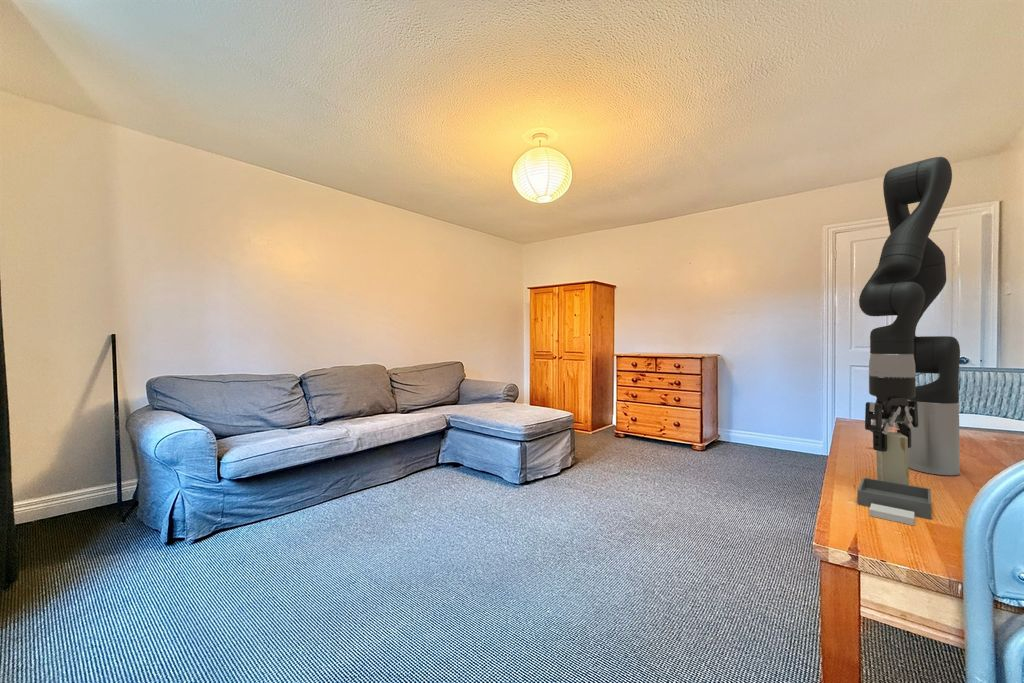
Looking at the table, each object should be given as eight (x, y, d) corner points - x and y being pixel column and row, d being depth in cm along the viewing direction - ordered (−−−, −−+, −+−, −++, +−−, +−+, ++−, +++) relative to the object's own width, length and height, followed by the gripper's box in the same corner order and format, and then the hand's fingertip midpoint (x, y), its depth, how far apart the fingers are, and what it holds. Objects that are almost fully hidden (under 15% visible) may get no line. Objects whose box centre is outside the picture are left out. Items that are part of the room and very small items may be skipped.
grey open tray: (863, 490, 90) (862, 477, 90) (930, 502, 83) (930, 488, 83) (854, 512, 79) (854, 497, 79) (931, 529, 72) (931, 513, 72)
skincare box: (910, 496, 87) (909, 437, 87) (882, 492, 89) (881, 435, 89) (901, 486, 92) (901, 431, 92) (876, 483, 94) (875, 429, 94)
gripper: (890, 372, 96) (891, 442, 96) (851, 374, 91) (851, 447, 91) (932, 375, 89) (933, 450, 89) (892, 376, 84) (893, 456, 84)
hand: (892, 449), depth 90 cm, fingers open, 8 cm apart
